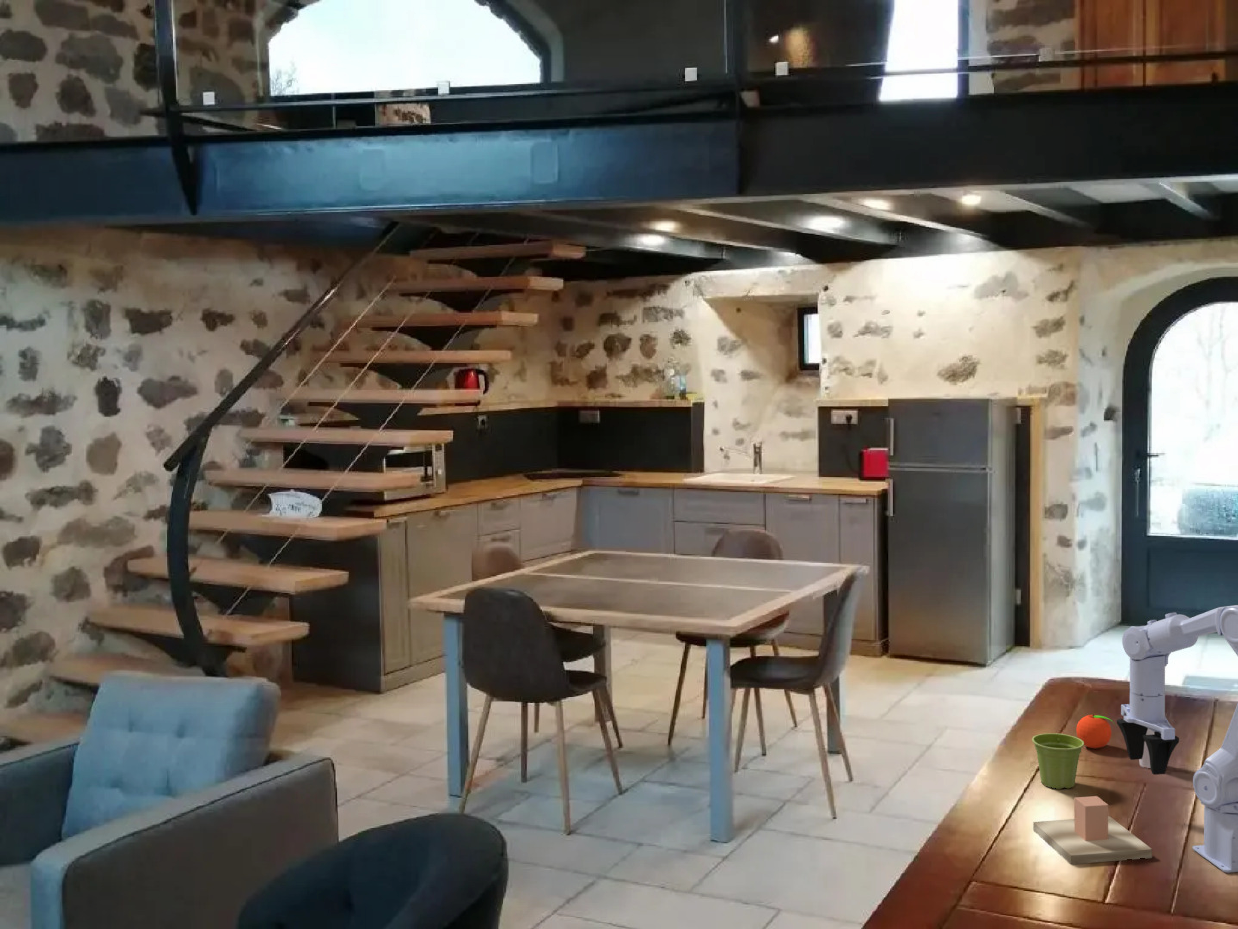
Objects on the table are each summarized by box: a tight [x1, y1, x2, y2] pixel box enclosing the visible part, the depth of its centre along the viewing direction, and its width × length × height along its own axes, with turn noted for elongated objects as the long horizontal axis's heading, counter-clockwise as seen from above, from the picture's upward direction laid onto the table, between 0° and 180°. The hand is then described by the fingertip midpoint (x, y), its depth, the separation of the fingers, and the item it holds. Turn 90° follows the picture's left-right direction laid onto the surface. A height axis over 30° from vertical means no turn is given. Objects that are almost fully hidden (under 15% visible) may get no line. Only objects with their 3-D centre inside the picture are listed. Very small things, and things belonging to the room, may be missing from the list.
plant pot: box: [1031, 732, 1085, 790], centre depth 227 cm, size 9×9×9 cm
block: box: [1073, 795, 1109, 841], centre depth 200 cm, size 4×4×6 cm
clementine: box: [1075, 714, 1118, 749], centre depth 247 cm, size 8×7×7 cm
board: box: [1033, 815, 1153, 865], centre depth 200 cm, size 14×14×2 cm
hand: (1146, 766), depth 210 cm, fingers open, 7 cm apart
